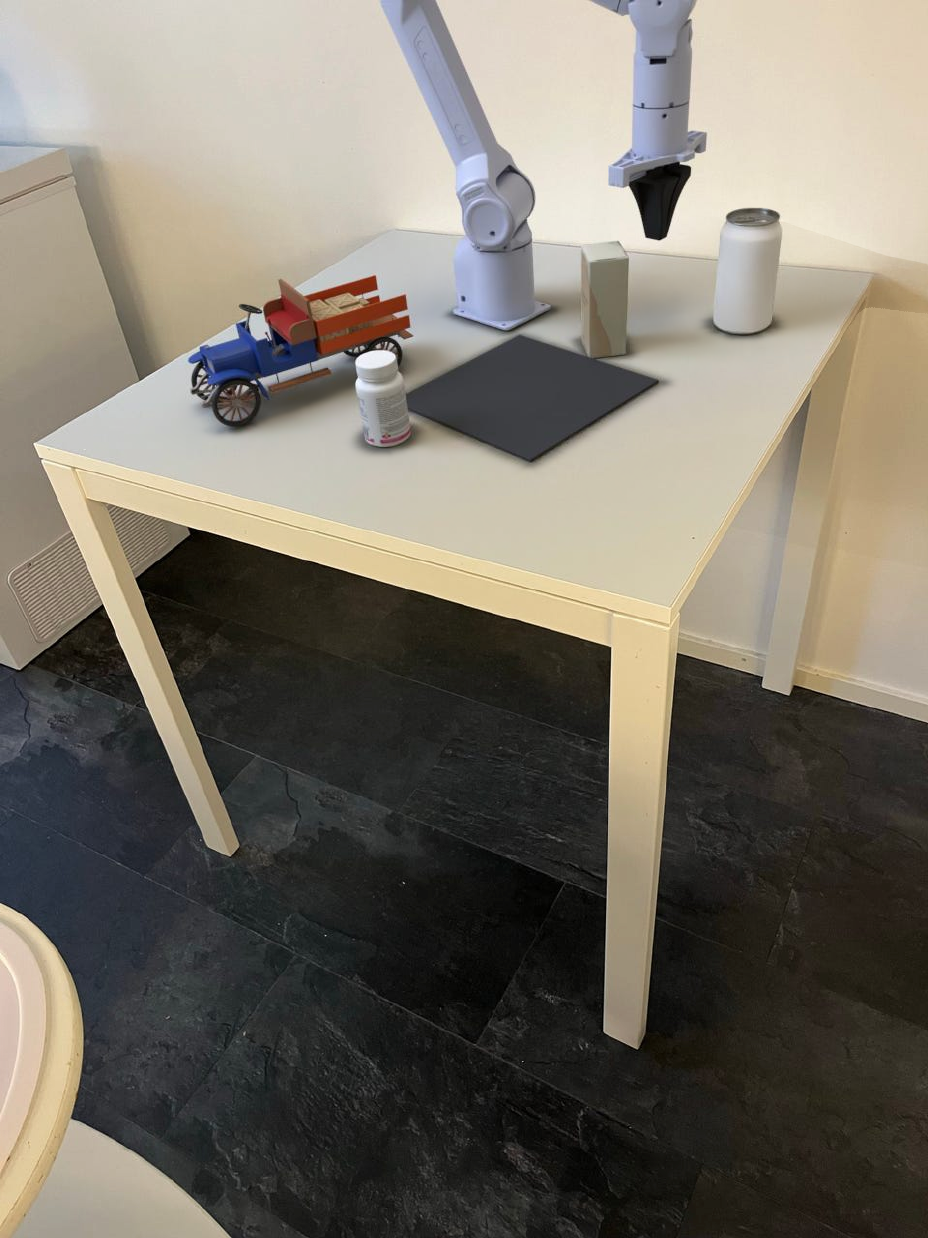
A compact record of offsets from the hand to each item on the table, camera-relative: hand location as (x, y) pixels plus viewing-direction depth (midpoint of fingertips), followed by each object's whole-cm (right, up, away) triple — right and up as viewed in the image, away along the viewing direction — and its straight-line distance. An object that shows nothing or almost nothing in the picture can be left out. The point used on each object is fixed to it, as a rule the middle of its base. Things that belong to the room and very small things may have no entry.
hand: (655, 237), depth 107 cm
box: (-6, -12, +2) cm, 13 cm away
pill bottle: (-29, -24, -9) cm, 39 cm away
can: (+11, -9, +3) cm, 14 cm away
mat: (-15, -18, -5) cm, 24 cm away
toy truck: (-39, -17, +1) cm, 42 cm away
